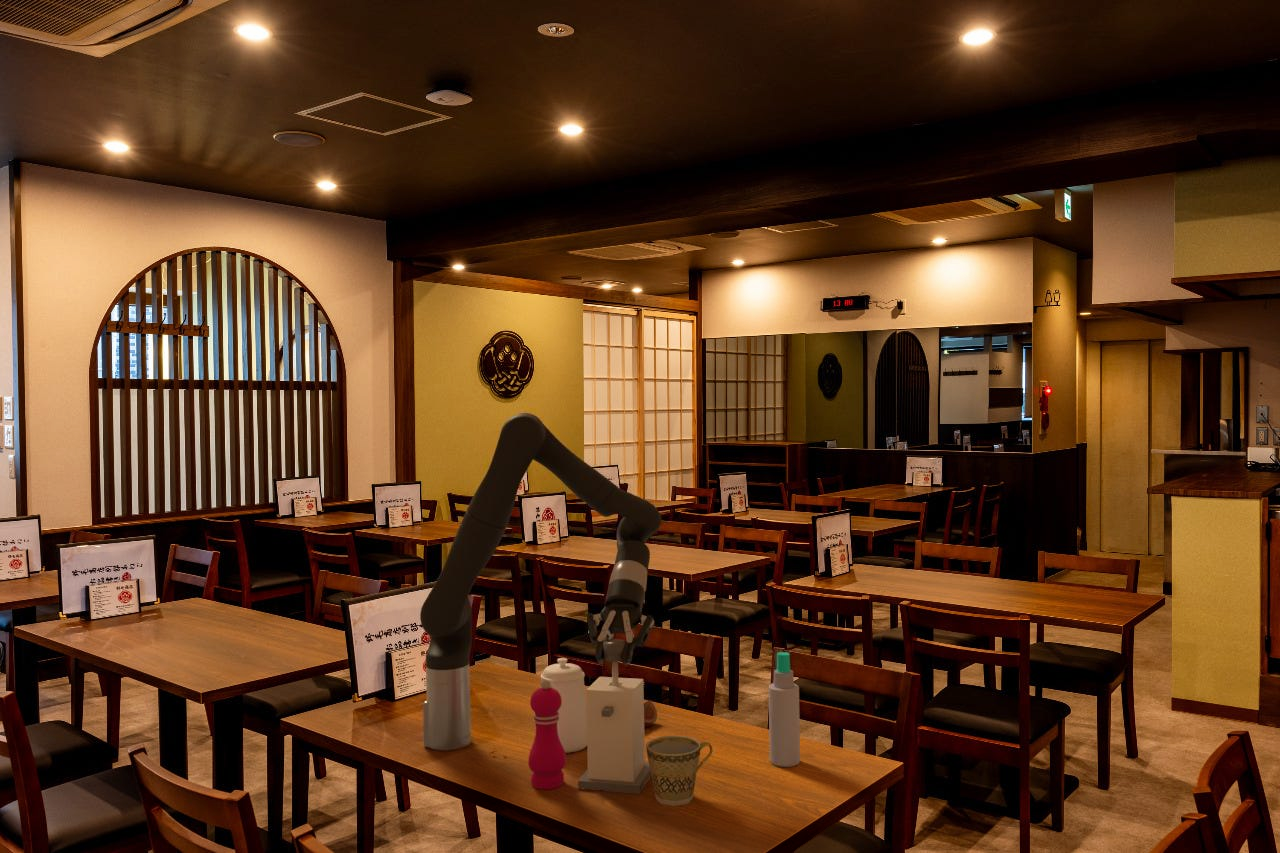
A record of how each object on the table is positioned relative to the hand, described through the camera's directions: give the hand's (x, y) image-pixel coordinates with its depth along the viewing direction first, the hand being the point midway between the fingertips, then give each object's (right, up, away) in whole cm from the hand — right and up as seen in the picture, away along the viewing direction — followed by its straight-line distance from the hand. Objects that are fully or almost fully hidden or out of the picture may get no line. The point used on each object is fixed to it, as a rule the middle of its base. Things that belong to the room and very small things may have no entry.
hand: (612, 662), depth 181 cm
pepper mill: (-12, -24, +1) cm, 27 cm away
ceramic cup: (+13, -23, -7) cm, 28 cm away
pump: (+1, -17, +2) cm, 17 cm away
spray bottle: (+35, -23, +9) cm, 42 cm away
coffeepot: (-11, -23, +21) cm, 33 cm away
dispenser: (+1, -23, +2) cm, 23 cm away
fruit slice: (+5, -23, +33) cm, 41 cm away
